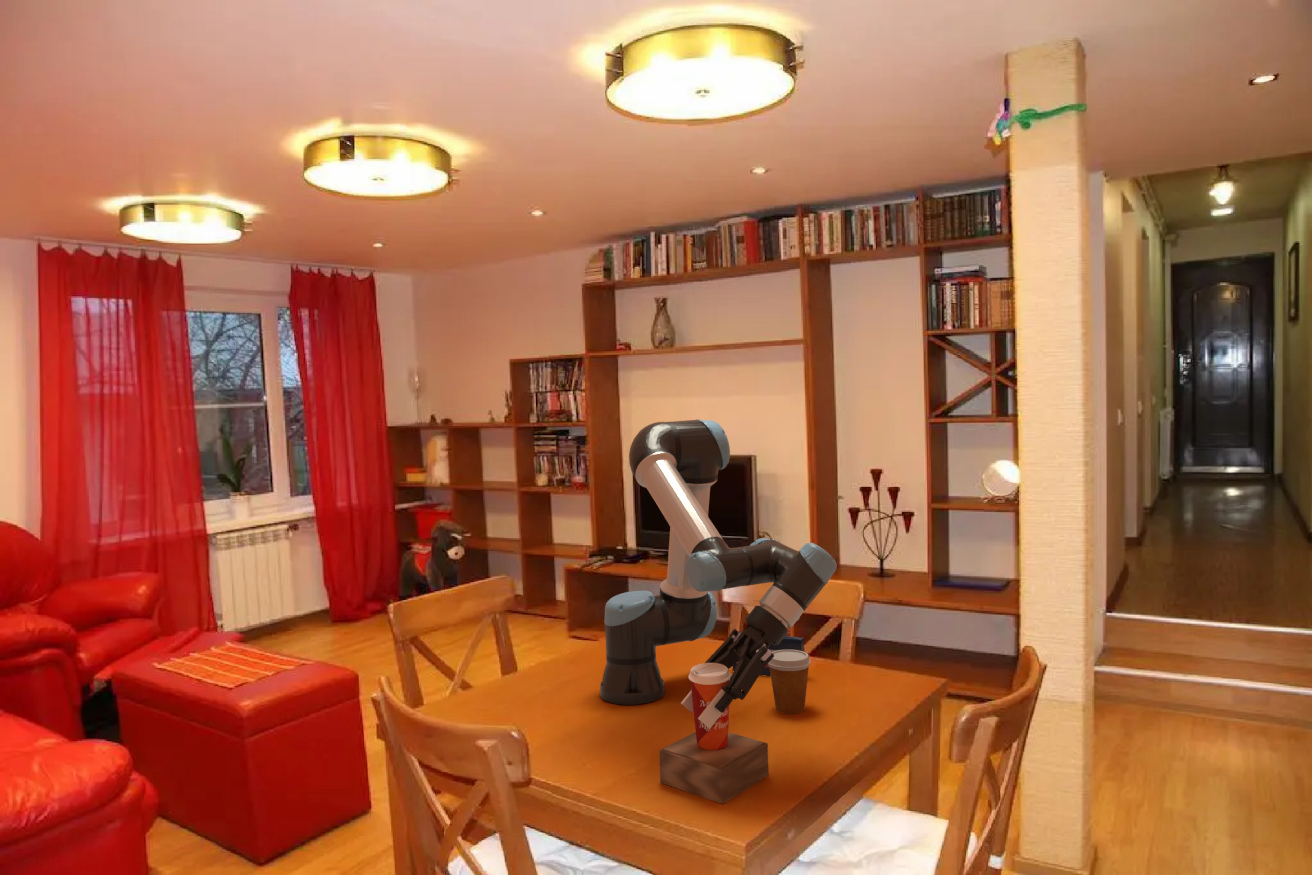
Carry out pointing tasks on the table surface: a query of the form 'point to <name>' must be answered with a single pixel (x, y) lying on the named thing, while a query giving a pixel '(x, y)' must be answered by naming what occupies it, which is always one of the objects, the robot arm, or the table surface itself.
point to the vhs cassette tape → (785, 644)
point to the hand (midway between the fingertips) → (695, 715)
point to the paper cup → (704, 689)
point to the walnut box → (714, 767)
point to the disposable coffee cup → (789, 680)
